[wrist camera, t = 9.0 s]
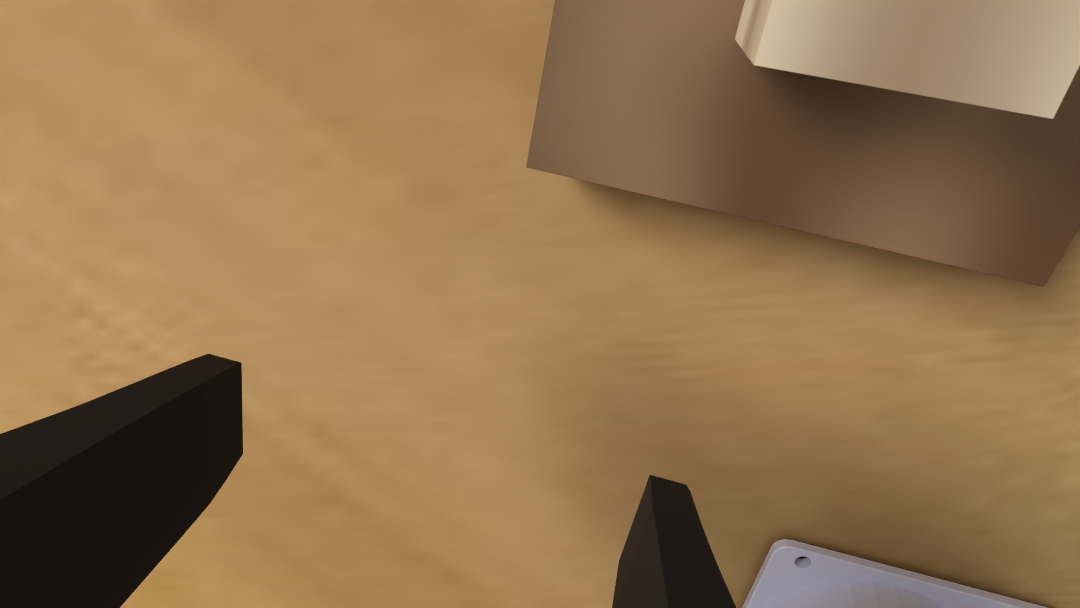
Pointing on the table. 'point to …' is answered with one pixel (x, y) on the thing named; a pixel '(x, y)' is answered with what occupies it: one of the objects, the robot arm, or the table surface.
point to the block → (925, 46)
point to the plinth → (801, 141)
